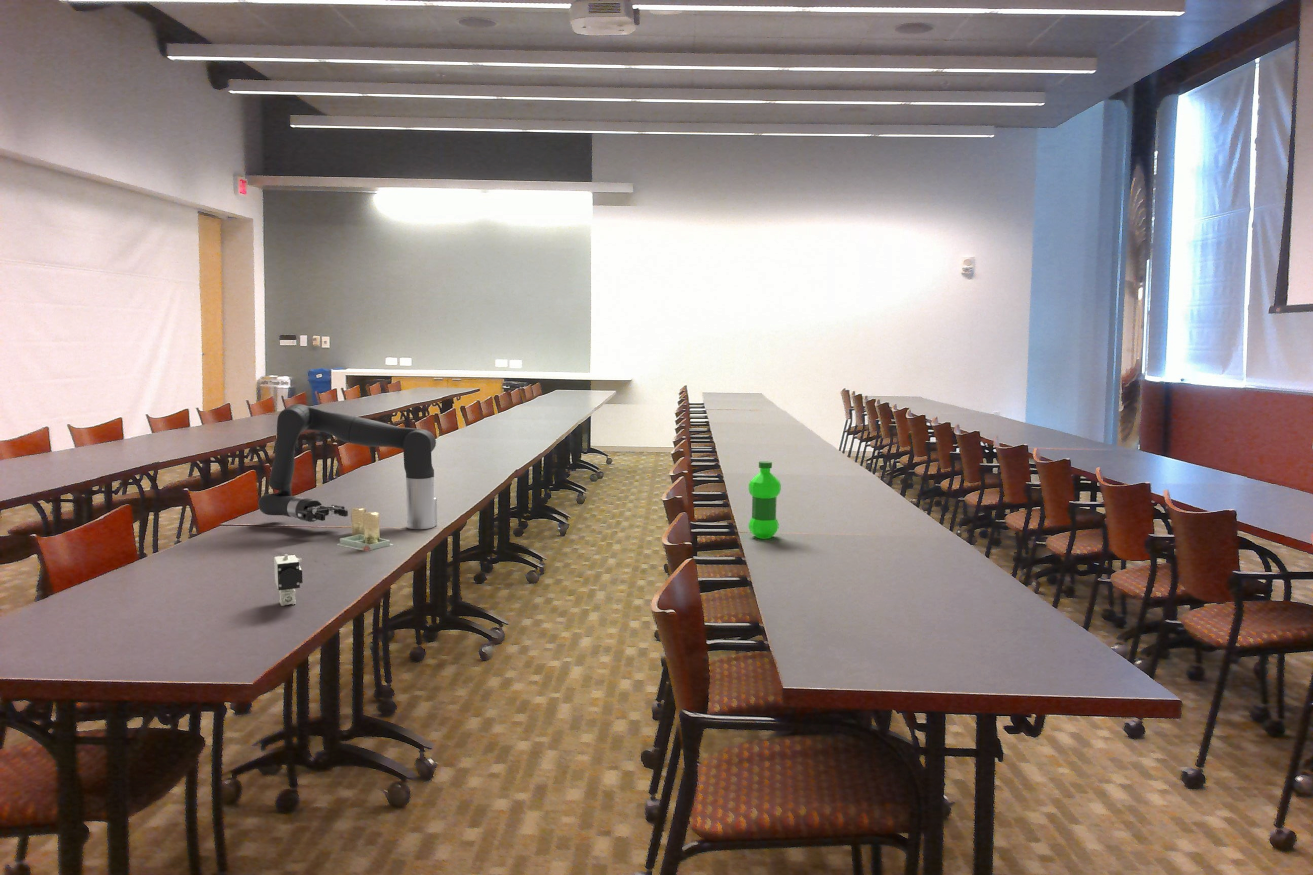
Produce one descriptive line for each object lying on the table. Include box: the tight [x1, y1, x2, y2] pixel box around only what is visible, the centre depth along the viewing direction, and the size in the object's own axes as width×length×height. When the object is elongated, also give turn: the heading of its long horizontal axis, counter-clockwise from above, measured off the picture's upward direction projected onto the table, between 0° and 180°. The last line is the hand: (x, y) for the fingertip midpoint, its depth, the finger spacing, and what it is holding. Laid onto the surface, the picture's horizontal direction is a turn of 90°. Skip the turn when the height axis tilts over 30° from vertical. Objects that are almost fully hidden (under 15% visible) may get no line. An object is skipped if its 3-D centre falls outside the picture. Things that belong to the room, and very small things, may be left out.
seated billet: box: [363, 511, 381, 544], centre depth 257 cm, size 4×4×10 cm
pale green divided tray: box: [336, 534, 394, 552], centre depth 260 cm, size 10×14×3 cm
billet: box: [350, 507, 367, 536], centre depth 271 cm, size 4×4×10 cm
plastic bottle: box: [748, 460, 782, 540], centre depth 281 cm, size 10×10×25 cm
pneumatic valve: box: [273, 553, 303, 607], centre depth 205 cm, size 6×12×12 cm, turn 29°
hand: (335, 515), depth 277 cm, fingers open, 8 cm apart
